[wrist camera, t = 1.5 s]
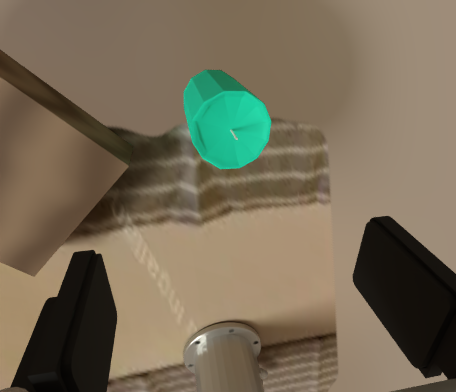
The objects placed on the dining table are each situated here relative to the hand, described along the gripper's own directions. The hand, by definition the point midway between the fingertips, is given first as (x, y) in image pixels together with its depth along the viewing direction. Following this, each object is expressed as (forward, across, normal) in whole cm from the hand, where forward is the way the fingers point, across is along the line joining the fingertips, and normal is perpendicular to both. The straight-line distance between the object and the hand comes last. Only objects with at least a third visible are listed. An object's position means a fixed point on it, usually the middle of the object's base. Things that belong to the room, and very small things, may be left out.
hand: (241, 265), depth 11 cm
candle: (+24, -2, 0) cm, 24 cm away
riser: (+24, +17, +4) cm, 30 cm away
